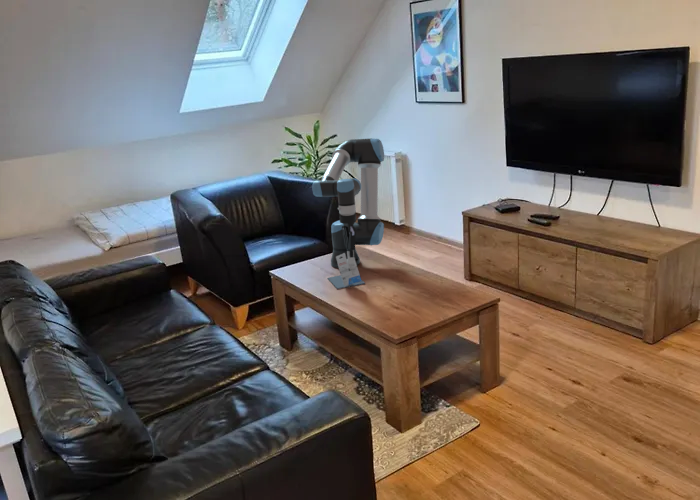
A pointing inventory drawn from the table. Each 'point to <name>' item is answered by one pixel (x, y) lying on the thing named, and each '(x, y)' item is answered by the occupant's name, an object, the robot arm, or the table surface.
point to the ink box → (348, 270)
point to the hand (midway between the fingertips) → (351, 263)
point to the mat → (339, 284)
